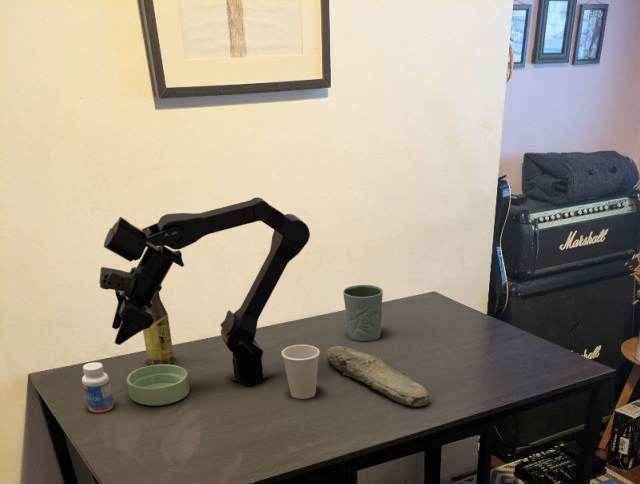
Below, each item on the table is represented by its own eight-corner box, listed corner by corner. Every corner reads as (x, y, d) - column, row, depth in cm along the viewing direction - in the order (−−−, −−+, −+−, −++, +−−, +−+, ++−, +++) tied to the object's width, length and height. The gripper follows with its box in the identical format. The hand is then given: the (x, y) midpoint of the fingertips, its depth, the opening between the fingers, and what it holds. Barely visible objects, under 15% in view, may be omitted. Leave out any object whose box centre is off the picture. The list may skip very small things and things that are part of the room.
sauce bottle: (168, 368, 185) (154, 286, 173) (143, 366, 186) (128, 284, 174) (179, 358, 190) (167, 278, 179) (155, 356, 191) (142, 276, 180)
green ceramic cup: (382, 342, 199) (382, 297, 192) (343, 342, 199) (342, 296, 192) (382, 328, 207) (383, 284, 200) (345, 328, 207) (344, 284, 201)
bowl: (202, 392, 174) (199, 373, 171) (156, 413, 165) (152, 393, 163) (164, 377, 180) (161, 359, 178) (118, 396, 172) (114, 378, 169)
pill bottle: (83, 410, 166) (73, 368, 161) (99, 400, 170) (90, 359, 165) (103, 414, 164) (94, 372, 159) (119, 404, 169) (111, 362, 163)
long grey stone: (405, 419, 166) (439, 408, 171) (407, 397, 163) (442, 387, 168) (314, 360, 188) (347, 352, 193) (314, 339, 185) (348, 332, 190)
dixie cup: (305, 382, 179) (303, 341, 173) (329, 393, 174) (327, 351, 168) (276, 393, 174) (273, 351, 168) (300, 405, 169) (297, 362, 163)
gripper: (110, 239, 162) (77, 302, 166) (116, 265, 147) (79, 333, 152) (159, 267, 168) (125, 327, 173) (169, 294, 154) (132, 359, 158)
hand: (115, 335), depth 164 cm, fingers open, 9 cm apart
